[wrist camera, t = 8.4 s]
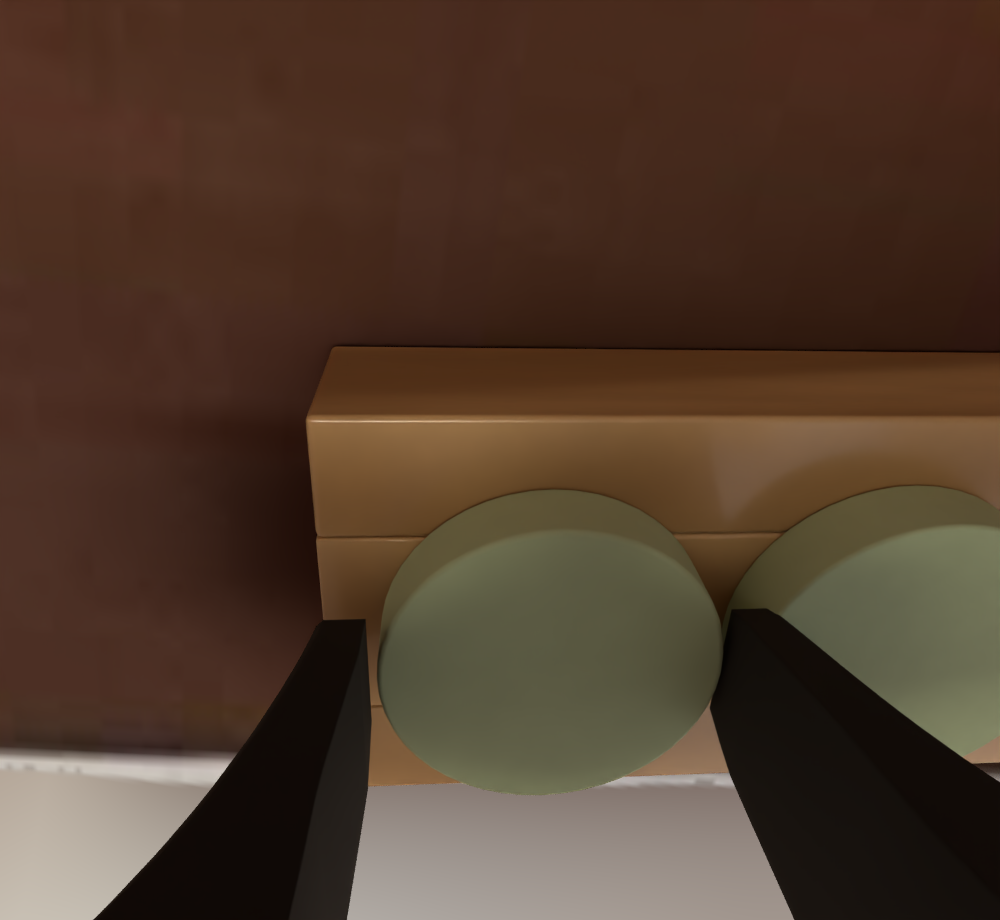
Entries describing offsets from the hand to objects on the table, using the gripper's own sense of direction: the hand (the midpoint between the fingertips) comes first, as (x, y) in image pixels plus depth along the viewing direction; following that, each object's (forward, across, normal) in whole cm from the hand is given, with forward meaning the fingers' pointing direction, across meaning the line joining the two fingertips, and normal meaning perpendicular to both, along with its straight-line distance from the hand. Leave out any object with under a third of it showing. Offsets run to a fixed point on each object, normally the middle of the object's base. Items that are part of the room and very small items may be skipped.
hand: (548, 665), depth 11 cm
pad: (+4, 0, 0) cm, 4 cm away
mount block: (+4, -3, 0) cm, 5 cm away
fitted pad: (+4, -6, 0) cm, 7 cm away
